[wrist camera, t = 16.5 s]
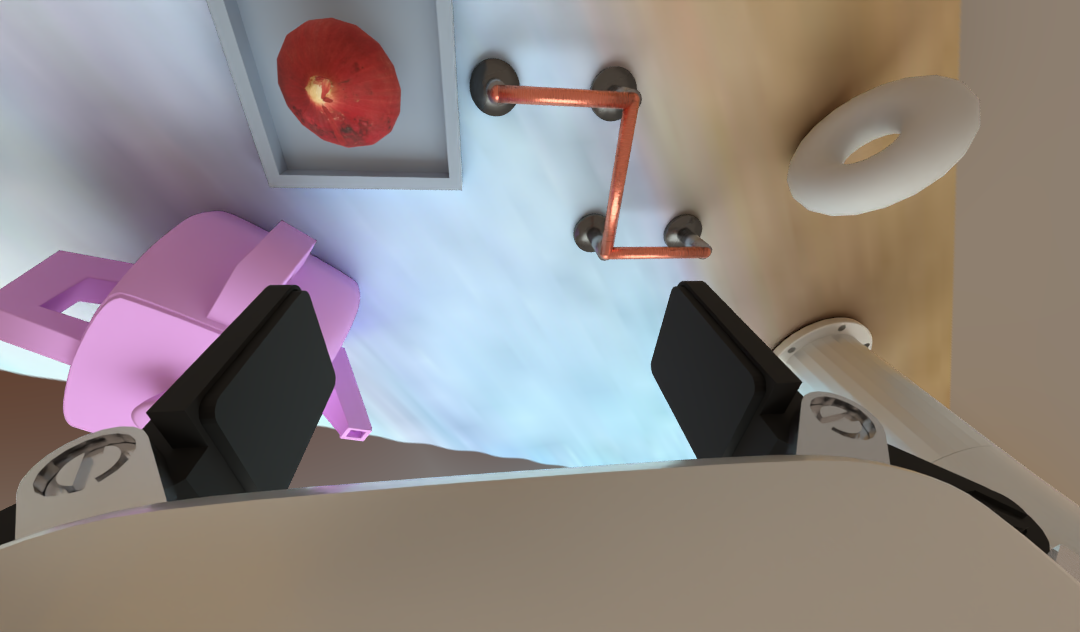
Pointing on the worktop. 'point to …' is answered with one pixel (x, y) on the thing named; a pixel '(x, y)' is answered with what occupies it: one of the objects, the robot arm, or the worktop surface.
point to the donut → (900, 169)
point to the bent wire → (611, 102)
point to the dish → (422, 70)
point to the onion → (339, 82)
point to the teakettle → (173, 315)
